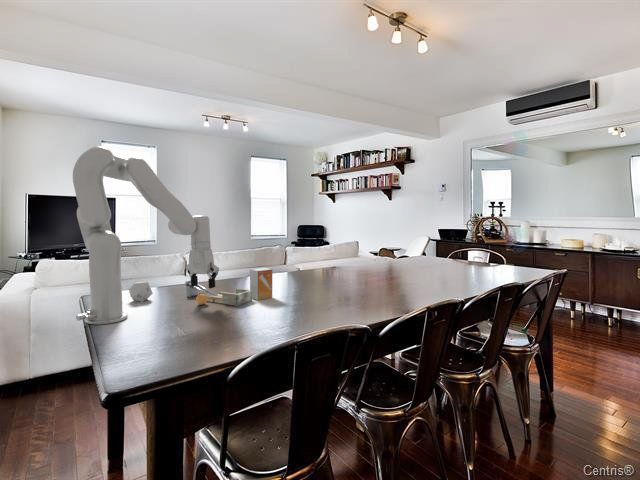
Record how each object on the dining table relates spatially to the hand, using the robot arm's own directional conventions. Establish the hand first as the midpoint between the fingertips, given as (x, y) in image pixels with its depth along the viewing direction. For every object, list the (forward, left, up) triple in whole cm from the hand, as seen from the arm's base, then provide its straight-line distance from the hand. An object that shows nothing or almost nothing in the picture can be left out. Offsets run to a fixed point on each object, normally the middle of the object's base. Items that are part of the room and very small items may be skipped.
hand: (203, 286), depth 148 cm
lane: (+9, -5, -7) cm, 13 cm away
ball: (-1, 0, -5) cm, 5 cm away
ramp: (+9, +9, -7) cm, 15 cm away
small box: (+20, -15, -8) cm, 26 cm away
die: (-8, +28, -8) cm, 30 cm away
